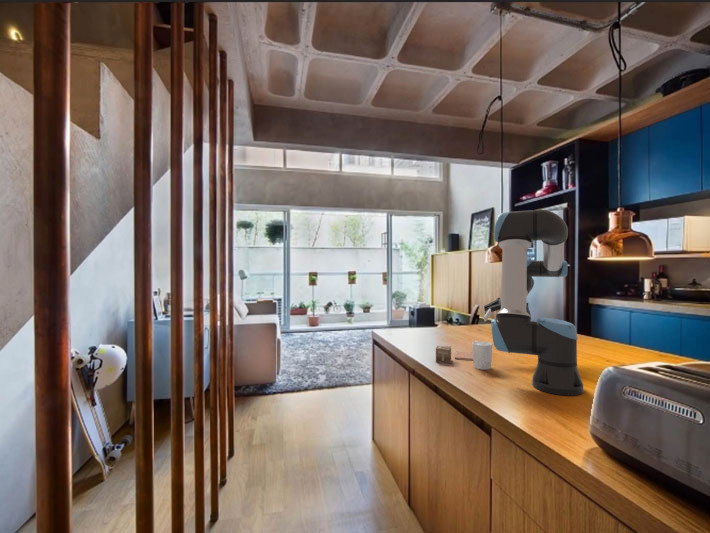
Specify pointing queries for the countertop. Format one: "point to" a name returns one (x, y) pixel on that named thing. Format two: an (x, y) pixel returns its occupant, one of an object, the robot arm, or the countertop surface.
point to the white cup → (482, 354)
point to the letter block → (443, 354)
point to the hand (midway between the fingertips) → (500, 322)
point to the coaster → (464, 355)
